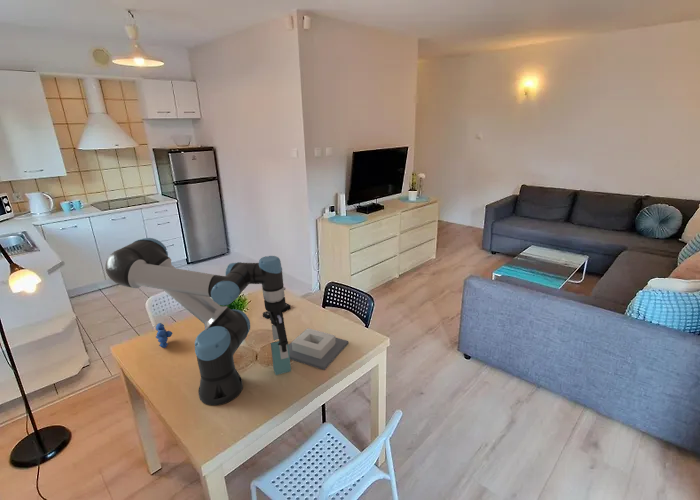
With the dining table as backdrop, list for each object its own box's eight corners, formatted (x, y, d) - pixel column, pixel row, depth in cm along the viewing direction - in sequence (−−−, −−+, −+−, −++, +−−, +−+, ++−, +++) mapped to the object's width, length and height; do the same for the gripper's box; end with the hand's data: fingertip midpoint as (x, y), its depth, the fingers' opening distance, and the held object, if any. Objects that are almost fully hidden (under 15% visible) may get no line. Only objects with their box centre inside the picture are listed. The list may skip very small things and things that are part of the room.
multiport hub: (291, 309, 191) (290, 305, 191) (267, 320, 182) (267, 315, 181) (286, 306, 194) (285, 302, 194) (262, 317, 185) (262, 312, 184)
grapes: (176, 351, 158) (171, 326, 154) (159, 356, 155) (153, 331, 151) (174, 338, 168) (169, 315, 164) (157, 342, 165) (152, 319, 161)
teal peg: (291, 371, 144) (288, 344, 140) (275, 375, 141) (272, 348, 137) (288, 365, 147) (286, 339, 143) (273, 369, 145) (270, 343, 141)
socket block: (324, 370, 143) (323, 358, 142) (279, 355, 153) (277, 344, 151) (348, 343, 160) (348, 332, 158) (306, 331, 170) (305, 321, 168)
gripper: (293, 310, 124) (298, 363, 131) (277, 283, 146) (283, 329, 153) (270, 315, 121) (277, 369, 129) (258, 287, 143) (264, 334, 150)
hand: (280, 348), depth 141 cm, fingers open, 13 cm apart
